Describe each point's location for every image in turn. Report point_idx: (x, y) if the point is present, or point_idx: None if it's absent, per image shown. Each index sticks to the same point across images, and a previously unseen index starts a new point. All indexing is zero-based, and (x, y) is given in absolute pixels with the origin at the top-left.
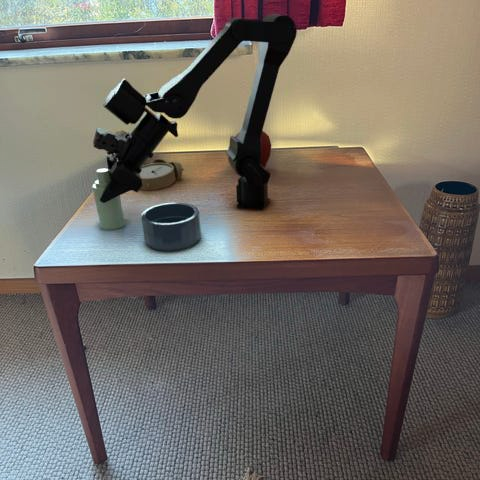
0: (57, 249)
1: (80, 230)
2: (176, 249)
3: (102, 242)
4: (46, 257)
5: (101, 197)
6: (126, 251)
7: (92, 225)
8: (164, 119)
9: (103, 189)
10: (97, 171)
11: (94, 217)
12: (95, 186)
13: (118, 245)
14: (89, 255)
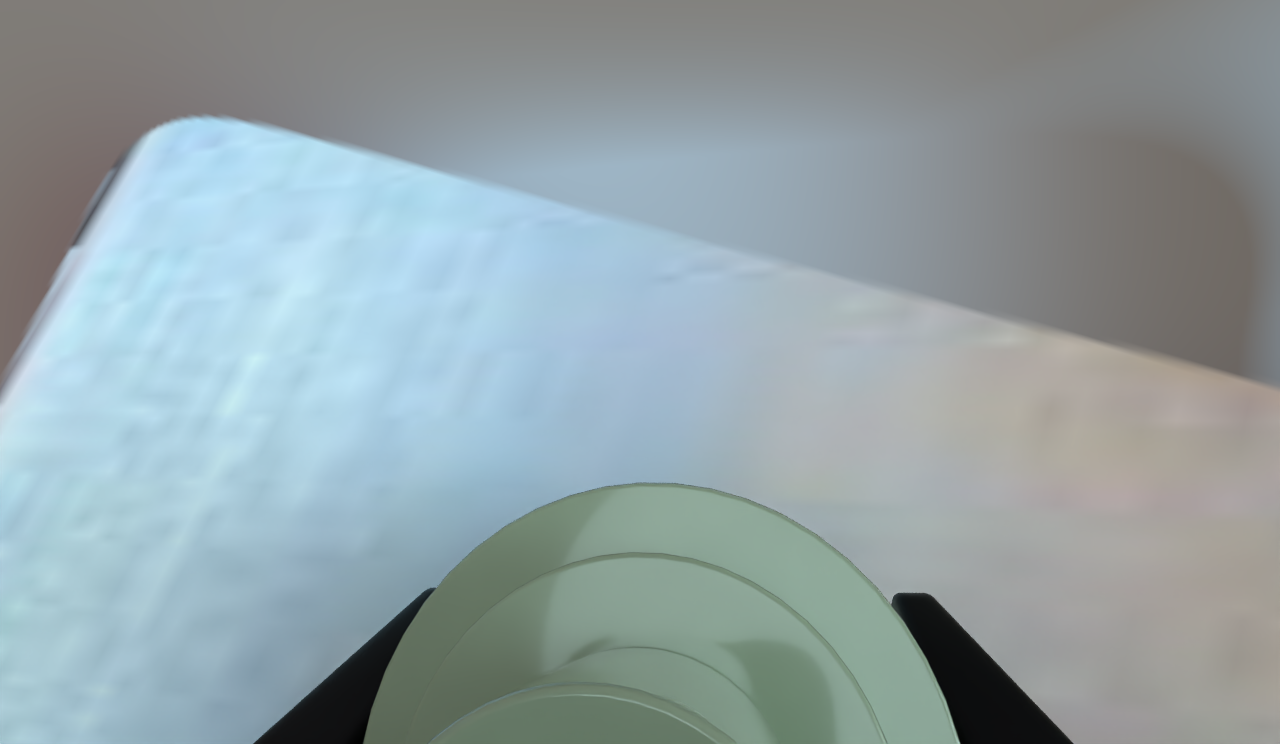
0: (360, 191)
1: (667, 350)
2: None
3: (320, 538)
4: (266, 132)
5: (384, 629)
6: (39, 739)
7: (751, 461)
8: None
9: (376, 718)
10: (510, 729)
11: (972, 487)
12: (607, 551)
13: (190, 679)
14: (137, 423)
